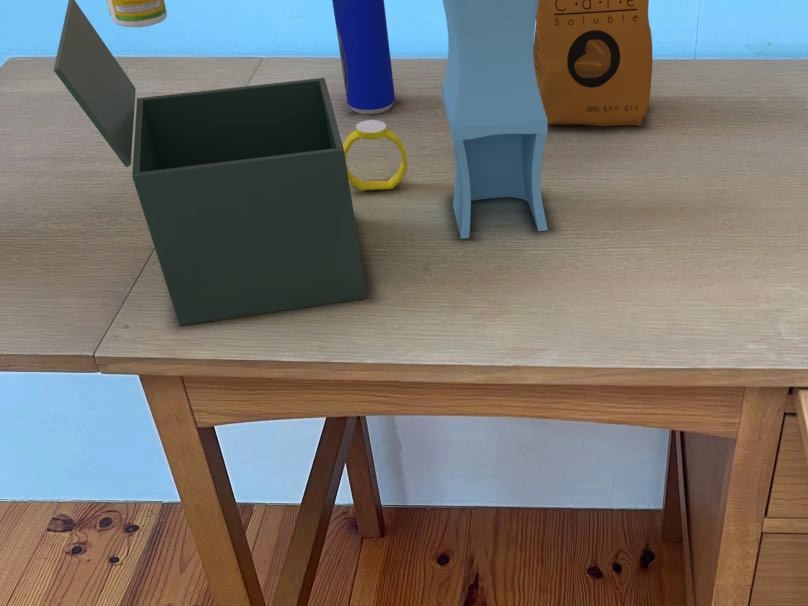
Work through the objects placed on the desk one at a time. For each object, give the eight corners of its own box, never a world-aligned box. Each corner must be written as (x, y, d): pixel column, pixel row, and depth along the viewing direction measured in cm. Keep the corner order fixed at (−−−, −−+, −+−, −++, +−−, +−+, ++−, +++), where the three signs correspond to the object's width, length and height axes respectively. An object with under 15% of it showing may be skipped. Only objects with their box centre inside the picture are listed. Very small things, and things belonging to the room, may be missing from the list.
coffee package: (649, 136, 103) (666, -113, 87) (528, 136, 103) (523, -113, 88) (647, 97, 110) (661, -141, 94) (533, 96, 110) (529, -141, 95)
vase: (533, 189, 95) (529, -46, 81) (548, 230, 90) (546, -14, 75) (450, 197, 94) (431, -40, 80) (460, 238, 89) (442, -7, 75)
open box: (179, 326, 80) (131, 175, 71) (178, 240, 89) (136, 98, 80) (367, 298, 82) (344, 150, 73) (347, 217, 92) (324, 77, 83)
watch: (347, 198, 95) (337, 135, 90) (345, 184, 96) (335, 122, 92) (410, 191, 95) (403, 129, 91) (407, 178, 97) (400, 116, 93)
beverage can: (357, 94, 111) (335, -58, 100) (401, 98, 110) (385, -55, 100) (341, 114, 108) (317, -42, 97) (387, 117, 107) (368, -39, 96)
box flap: (130, 165, 71) (126, 167, 71) (135, 88, 80) (131, 90, 80) (58, 67, 65) (53, 70, 65) (73, -3, 75) (68, 0, 75)
